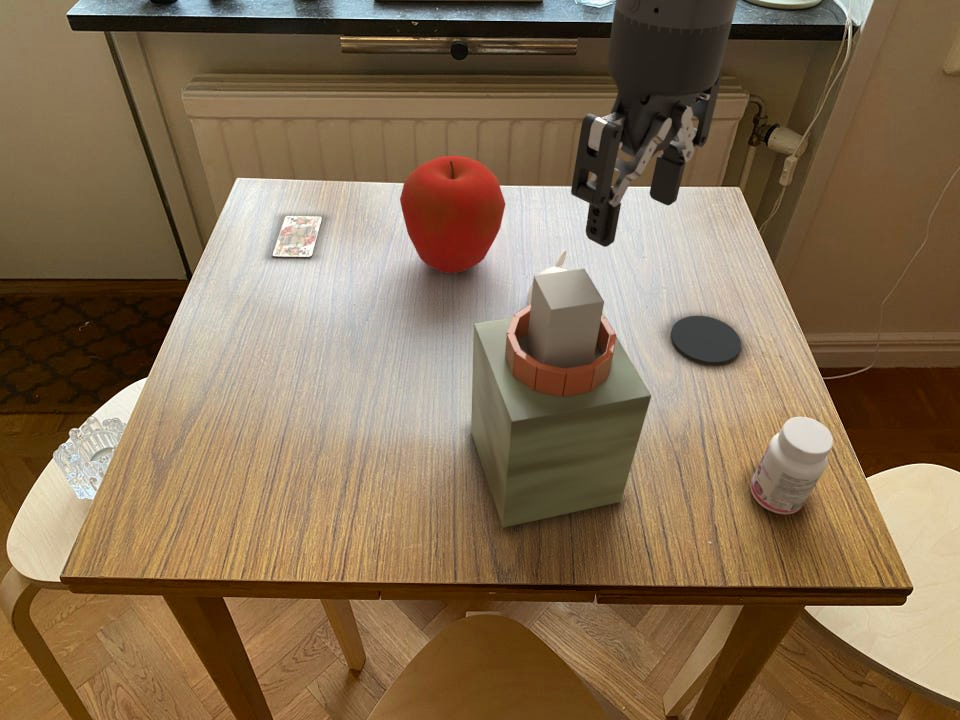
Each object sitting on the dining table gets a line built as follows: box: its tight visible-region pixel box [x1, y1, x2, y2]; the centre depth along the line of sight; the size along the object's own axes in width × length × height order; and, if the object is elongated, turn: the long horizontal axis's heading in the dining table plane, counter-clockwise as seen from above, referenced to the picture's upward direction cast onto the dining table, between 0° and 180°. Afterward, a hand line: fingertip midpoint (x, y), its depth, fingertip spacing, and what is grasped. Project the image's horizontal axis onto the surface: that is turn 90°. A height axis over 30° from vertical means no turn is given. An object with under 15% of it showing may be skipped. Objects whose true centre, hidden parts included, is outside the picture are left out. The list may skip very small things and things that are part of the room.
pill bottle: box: [750, 416, 834, 515], centre depth 61 cm, size 5×5×8 cm
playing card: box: [272, 215, 323, 258], centre depth 90 cm, size 9×5×1 cm, turn 0°
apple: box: [399, 155, 506, 274], centre depth 82 cm, size 12×12×14 cm
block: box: [527, 268, 605, 368], centre depth 53 cm, size 4×4×7 cm
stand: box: [470, 312, 652, 528], centre depth 61 cm, size 11×11×14 cm
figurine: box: [526, 249, 569, 307], centre depth 79 cm, size 8×6×7 cm
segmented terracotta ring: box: [505, 304, 618, 397], centre depth 55 cm, size 8×8×2 cm
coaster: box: [670, 315, 742, 366], centre depth 78 cm, size 8×8×1 cm
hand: (632, 219), depth 56 cm, fingers open, 8 cm apart
